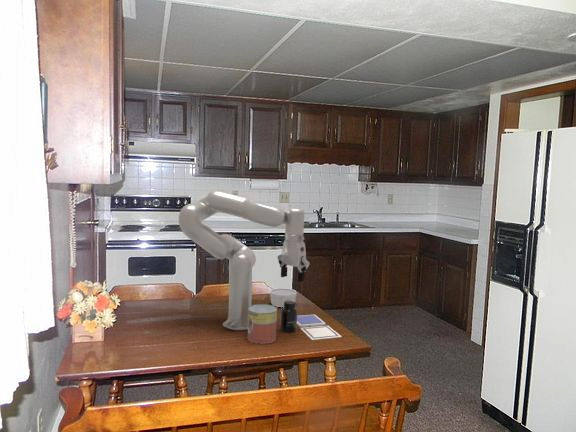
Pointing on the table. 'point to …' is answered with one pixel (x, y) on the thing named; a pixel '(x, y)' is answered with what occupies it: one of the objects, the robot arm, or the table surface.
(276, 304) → the ramekin
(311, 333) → the marked card
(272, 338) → the canned food
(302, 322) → the ink pad
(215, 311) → the table surface
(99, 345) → the table surface
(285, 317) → the supplement bottle
